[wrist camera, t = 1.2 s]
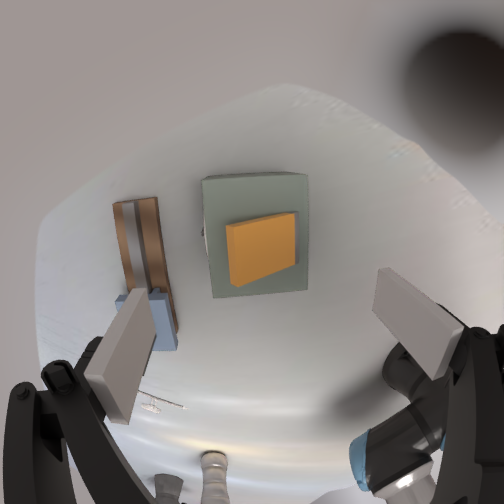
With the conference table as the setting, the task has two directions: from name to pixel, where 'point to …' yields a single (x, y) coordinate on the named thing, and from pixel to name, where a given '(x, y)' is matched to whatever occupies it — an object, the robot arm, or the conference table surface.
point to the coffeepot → (168, 489)
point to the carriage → (158, 322)
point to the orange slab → (262, 246)
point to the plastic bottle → (214, 479)
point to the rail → (150, 246)
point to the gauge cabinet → (248, 208)
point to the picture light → (153, 408)
